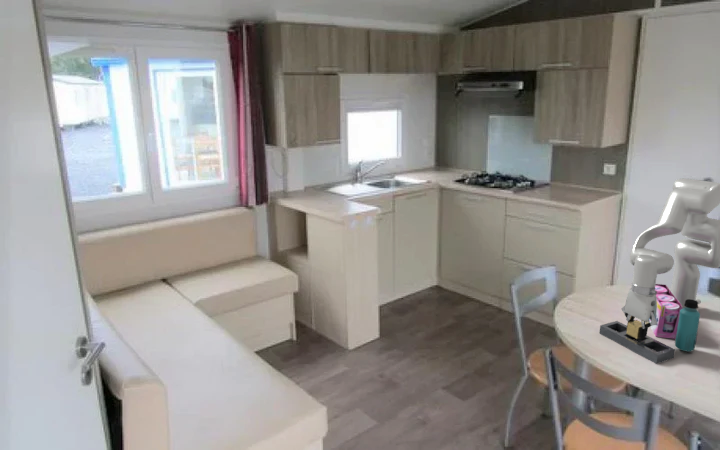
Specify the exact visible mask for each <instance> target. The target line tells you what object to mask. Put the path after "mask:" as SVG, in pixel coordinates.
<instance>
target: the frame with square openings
mask: <svg viewBox="0 0 720 450" xmlns="http://www.w3.org/2000/svg"><path fill="white" fill-rule="evenodd" d="M626 333H627V324H624V323H622V322H620V321H618V320H615V321H611V322H608V323H605V324H601V325H600V326H599V334H600V335H601V336H603V337H605V338H607V339H609V340H611V341H613V342H614V343H616V344H618V345H620V346H623V348H626V349H628V350H629V351H631V352H633V353H635V354H637V355H638V356H641V357H643V358H645V359H646V360H648V361H650V362H651V363H654V364H655V365H657V364H661V363H664V362H667V361H669V360H672V359H675V353H676V349H675V348H673V347H671V346H669V345H667V344H665V343H663V342H661V341H659V340H657V339H655V338H653V337H650V336H649V335H646V337H642V338H638V339H636V338H634V337H632V336H630V335H628V334H626Z"/></svg>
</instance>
